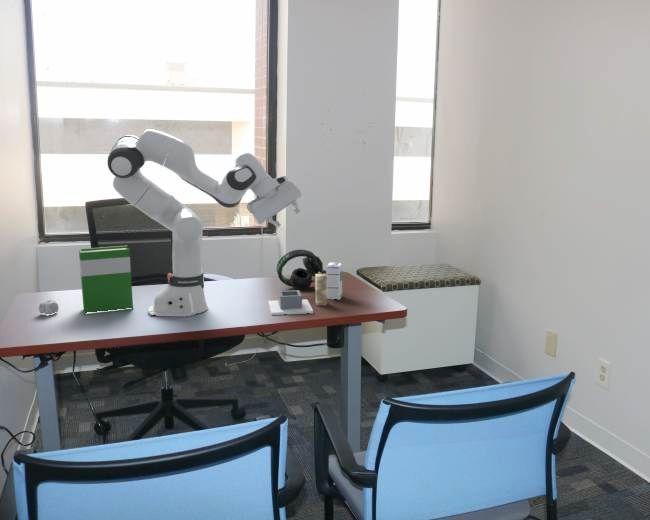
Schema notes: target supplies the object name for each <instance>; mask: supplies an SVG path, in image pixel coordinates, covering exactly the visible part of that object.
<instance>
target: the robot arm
mask: <svg viewBox="0 0 650 520" xmlns="http://www.w3.org/2000/svg"><path fill="white" fill-rule="evenodd" d="M195 159H196V158H195V152H194V151H193V148H192V147H191V146H190V145H189V144H188V143H187V142H185V141H183V140H181V139H179V138H178V137H175V136H172V135H170V134H168V133H165V132H163V131H159V130H157V129H156V130H155V129H152V128H150V129H146V130H145V131H143V132H142V133H141V134H140V136H139V137H138V136H136V135H131V134H128V135H124V136H122V137H120V138H119V139H118V140H117V141H116V142H115V143H114V145H113V146H112V147H111V150H110V153H109V154H108V156H107V167H108V169H109V171H110V173H111V174H112V175H113V176H114V178H113V182H112V186H113V188H114V190H115V191H116V192H117V193H118V194H119V195H120V196H121V197H122V198H123V199H124V200H125V201H127V202H128V203H129V204H131V206H133V207H135V208H136V209H138V210H139V211H140V212H142V213H143V214H145V215H146V216H147V217H149V218H150V219H151V220H153V221H155V222H156V223H159V224H160V225H162V226H163V227H164V228H166V229H167V230H169V231H170V232H172V234H171V236H172V238H171V239H172V243H171V244H172V249H171V250H172V254H171V259H172V273H171V272H169V273H168V274H167V276H166V277H167V285H165V286H164V287H163V288H161V289H160V291H158V292H157V293H156V295H155V297H154V300H153V304H151V305H150V306H149V307H148V311H147V313H148V312H149V314H151V315H156V316H155V317H187V316H188V317H192V316H194V315H196V314H197V313H198V314H200V313H204V312H206V311H207V310H208V309H209V306H208V304H207V301H206V296H205V291H204V290H205V289H204V288H205V276H204V273H203V260H202V259H203V258H202V257H203V255H202V254H203V252H202V251H203V231H204V230H203V228H204V227H203V223H202V222H203V221H202V220H201V218H200V217H199V216H198V215H197V213H195V212H194V210H192V209H190V208H189V207H188V206H186V205H185V204H184V203H182V202H181V201H180V200H178V199H176V198H175V197H173V195H171V194H169V193H168V192H167V191H165V190H164V189H162V188H161V187H160V186H158V184H156V183H155V182H153V181H152V180H150V179H149V178H148V177H146V176H145V175H144V174H143V173H142V172H141V168H142V167H143V166H144V165H145V162H153V163H155V164H157V165H160V166H162V167H164V168H166V169H168V170H170V171H171V172H173V173H174V174H176V175H177V176H178V177H179V178H180V179H181V180H183V181H184V182H186V183H187V184H189V185H190V186H193V187H194V188H196V189H197V190H199V191H201V192H203V193H204V194H206V195H208V196H209V197H211V198H212V199H214V201H216V202H217V203H218V204H219V205H221V206H222V207H224V208H231V209H232V208H235V207H238V205H239V204H240V203H241V201H242V199H243V197H244V196H245V194H246V193H247V191H248V190H251V192H252V193H253V194H254V195H255V197H254V198H253V199H252V200H250V201H248V203H247V205H246V209H247V211H248V212H249V214H252V216H253V218H254V220H255V221H256V223H257V224H259V225H262V224H264V223H266V222H268V223H270V224H272V225H274V226H275V227H276V228H279V227H280V226H281V223H280V222H279V221H275V220H273V219H274V218H273V217H274V216H275V215H277V214H278V213H280V212H281V211H282V210H283V211H284V209H286V208H287V207H288V206H290V205H292V206H293V207H294V209H293V212H294V213H295V214H296V215H298V214H299V213H300V212H301V209H300V208H299V205H298V201H297V200H299V199H300V198H301V196H302V192H301V190H300V189H299V187H298V186H297V185H296V184H295V183H293V181H290V180H289V178H288V177H287V176H286V175H282V176H280V177H278V176H277V177H275V178H273V177H272V176H271V175H270V174H268V173H267V172H266V169H265V167H264V166H263V165H262V163H261V162H260V161H259V160H258V159H257V157H256V156H255V155H254V154H252V153H249V152H244V153H241V154H239V155H238V156H236V157H235V158H234V159H233V162H232V164H231V167H230V169H229V170H228V171H227V172H226V173H225V175H224V176H223V179H222V180H220V181H219V180H216V179H215V178H213V177H211V176H210V175H208V174H206V173H204V172H203V171H201V170H200V169H199V168H198V166H197V164H196V160H195ZM149 314H148V315H149ZM151 315H150V316H151Z"/></svg>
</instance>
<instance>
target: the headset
mask: <svg viewBox="0 0 650 520" xmlns="http://www.w3.org/2000/svg"><path fill="white" fill-rule="evenodd" d="M299 257H300V258H301V257H304V258H302V263H303V266H304V268H302V267H298V268H295V269H294V270H292V272H291V276H290V278H287V277H285V276H284V275H283V273H282V271H283V268H284V267H285V265H287V263H288V262H289V261H291V260H293V259H295V258H299ZM276 273H277V276H278V279H279V280H280V282H281V283H283V284H284V285H286V286H287V287H291V288H293V289H294V290H299V291H304V290H303V289H305V290H307V289H309V288H310V287H311V285H312V283H314V282H315V280H314V279H313V277H315V274H326V269H324V266H323V261H322V259H320V257H319V256H317V255H315V253H313V252H312V251H310V250H306V249H295V250H294V249H293V250H291V251H289V252H287V253H286V254H284V255H283V256H281V258H280V259H279V260H278V262H277V265H276ZM312 279H313V280H312Z"/></svg>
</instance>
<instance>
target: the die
mask: <svg viewBox="0 0 650 520" xmlns="http://www.w3.org/2000/svg"><path fill="white" fill-rule="evenodd" d="M59 308H60V307H59V304H58V302H57V301H55V300H54V299H46V300H42V301H40V303H39V305H38V312H39V313H45V314H52V313H55V312H57V313H58V312H59Z"/></svg>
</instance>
